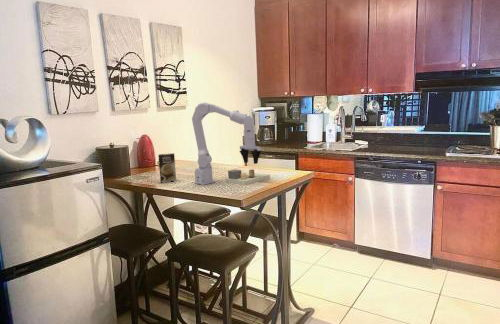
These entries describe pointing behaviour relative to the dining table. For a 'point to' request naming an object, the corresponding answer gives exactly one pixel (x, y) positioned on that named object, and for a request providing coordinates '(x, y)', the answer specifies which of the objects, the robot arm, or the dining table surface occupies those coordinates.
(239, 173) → the grey chamfered cube
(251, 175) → the pin
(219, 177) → the dining table surface
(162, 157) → the coffee box
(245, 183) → the pin board
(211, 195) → the dining table surface
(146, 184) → the dining table surface
